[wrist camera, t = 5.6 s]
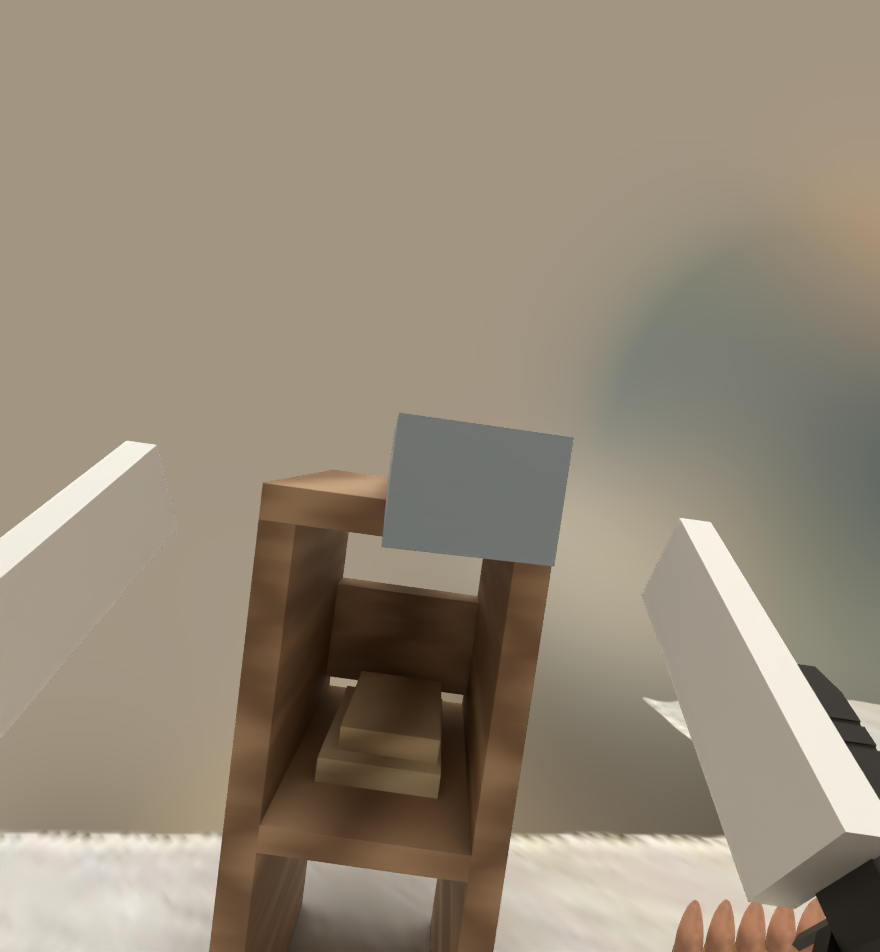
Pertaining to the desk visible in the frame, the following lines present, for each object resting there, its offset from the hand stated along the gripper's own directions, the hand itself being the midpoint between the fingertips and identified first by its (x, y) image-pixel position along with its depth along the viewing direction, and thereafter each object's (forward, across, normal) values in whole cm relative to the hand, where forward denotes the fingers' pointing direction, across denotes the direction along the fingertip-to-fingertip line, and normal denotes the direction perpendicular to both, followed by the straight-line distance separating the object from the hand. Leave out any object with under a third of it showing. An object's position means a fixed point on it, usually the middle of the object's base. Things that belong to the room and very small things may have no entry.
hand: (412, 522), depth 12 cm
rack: (-4, -1, -33) cm, 33 cm away
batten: (+9, 0, -6) cm, 10 cm away
